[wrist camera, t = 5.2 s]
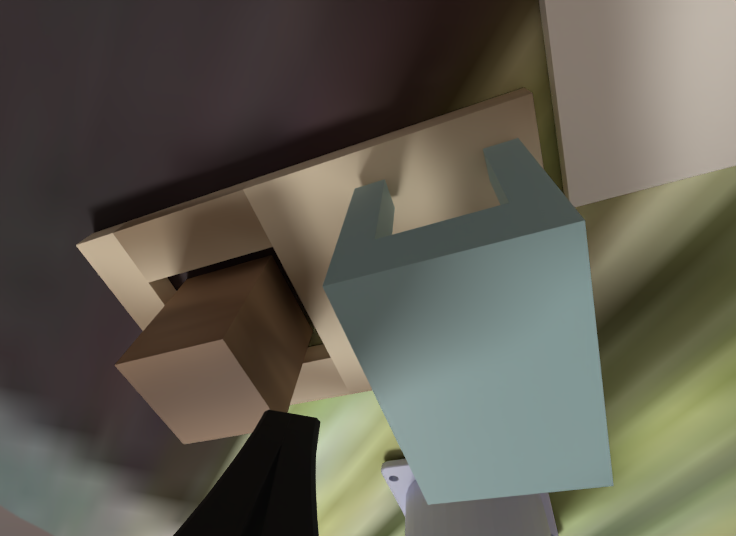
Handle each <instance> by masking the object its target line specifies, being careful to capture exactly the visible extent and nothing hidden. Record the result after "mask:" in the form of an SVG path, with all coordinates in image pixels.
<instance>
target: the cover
mask: <svg viewBox="0 0 736 536" xmlns="http://www.w3.org/2000/svg"><path fill="white" fill-rule="evenodd" d="M483 152H484V157H485V161H486V166H487V170H488V175H489V180H490V182H491V185H492V187H493V189H494V191H495V194H496V196H497V198H498V200H499V203H500V205H499V206H495V207H492V208H488V209H484V210H481V211H477V212H473V213H470V214H466V215H462V216H459V217H455V218H451V219H448V220H444V221H441V222H437V223H433V224H430V225H426V226H422V227H419V228H415V229H411V230H408V231H404V232H400V233H397V234H393V235H392V232H393V221H394V211H395V207H394V204H393V201H392V198H391V195H390V193H389V190H388V187H387V184H386V181H385V179H384V180H381V181H378V182H374V183H371V184H368V185H365V186H361V187H358V188H355V189H354V192H353V195H352V198H351V201H350V204H349V207H348V210H347V213H346V217H345V220H344V223H343V226H342V229H341V232H340V235H339V238H338V241H337V244H336V247H335V250H334V253H333V256H332V259H331V262H330V265H329V268H328V271H327V274H326V277H325V280H324V283H323V286H322V287H323V289H324V291H325V293H326V295H327V297H328V299H329V301H330V303H331V305H332V307H333V310H334V312H335V314H336V316H337V318H338V320H339V322H340V324H341V326H342V328H343V330H344V332H345V334H346V336H347V338H348V341H349V343H350V345H351V347H352V349H353V351H354V353H355V355H356V357H357V359H358V361H359V363H360V365H361V367H362V369H363V372H364V374H365V376H366V378H367V380H368V382H369V384H370V386H371V388H372V390H373V392H374V394H375V396H376V398H377V400H378V403H379V405H380V407H381V409H382V411H383V413H384V415H385V417H386V419H387V421H388V423H389V425H390V427H391V429H392V431H393V434H394V436H395V438H396V440H397V442H398V444H399V446H400V448H401V450H402V452H403V454H404V456H405V458H406V460H407V462H408V465H409V467H410V469H411V471H412V473H413V475H414V477H415V479H416V481H417V483H418V485H419V487H420V489H421V491H422V493H423V496H424V498H425V500H426V502H427V504H428V505H430V504H440V503H450V502H460V501H469V500H479V499H489V498H499V497H509V496H519V495H528V494H538V493H548V492H558V491H568V490H578V489H587V488H597V487H607V486H613V477H612V468H611V459H610V449H609V440H608V431H607V421H606V412H605V403H604V393H603V384H602V375H601V365H600V356H599V347H598V337H597V328H596V319H595V309H594V300H593V291H592V281H591V272H590V263H589V253H588V244H587V235H586V225H585V220H584V219H583V217H582V216H581V215H580V214H579V212H578V211H577V210H576V209H575V207H574V206H573V205H572V204H571V202H570V201H569V200H568V199H567V198H566V196H565V195H564V194H563V193H562V191H561V190H560V189H559V188H558V186H557V185H556V184H555V183H554V182H553V180H552V179H551V178H550V177H549V175H548V174H547V173H546V172H545V170H544V169H543V168H542V167H541V165H540V164H539V163H538V162H537V161H536V159H535V158H534V157H533V156H532V154H531V153H530V152H529V151H528V149H527V148H526V147H525V146H524V144H523V143H522V142H521V141H520V140H519V138H516V139H513V140H510V141H507V142H503V143H500V144H497V145H494V146H490V147H487V148H484V149H483Z"/></svg>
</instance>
